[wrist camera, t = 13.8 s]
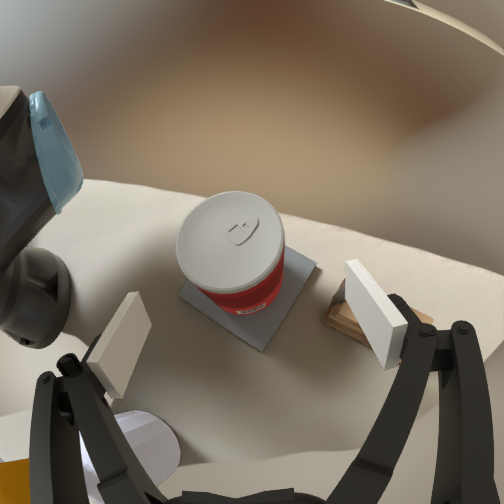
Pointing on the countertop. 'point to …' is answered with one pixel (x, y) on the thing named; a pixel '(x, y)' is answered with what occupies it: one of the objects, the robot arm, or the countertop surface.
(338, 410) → the countertop surface
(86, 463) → the soap bottle
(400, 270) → the countertop surface
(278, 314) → the slate mat
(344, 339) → the countertop surface
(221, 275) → the canned food
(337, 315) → the offcut rack
